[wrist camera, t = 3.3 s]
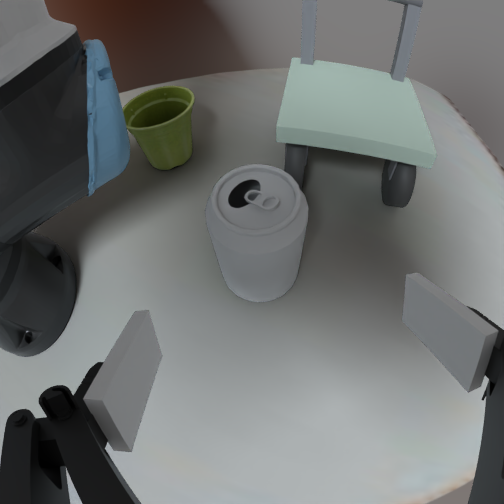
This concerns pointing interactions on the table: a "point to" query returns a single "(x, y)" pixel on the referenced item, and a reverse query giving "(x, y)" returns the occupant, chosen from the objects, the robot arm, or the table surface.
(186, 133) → the plant pot
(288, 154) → the trolley
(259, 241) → the can
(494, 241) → the table surface
